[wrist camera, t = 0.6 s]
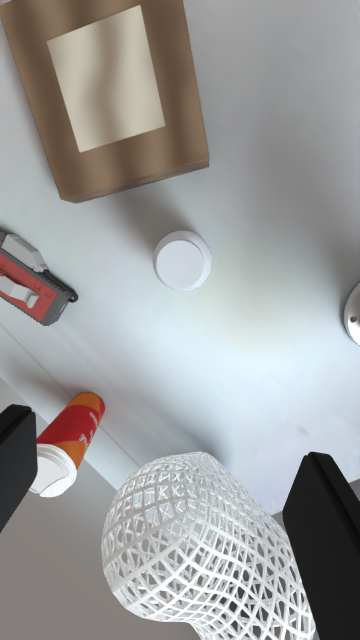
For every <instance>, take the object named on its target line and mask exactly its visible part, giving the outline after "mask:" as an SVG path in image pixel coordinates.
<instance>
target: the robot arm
mask: <svg viewBox="0 0 360 640" xmlns="http://www.w3.org/2000/svg"><path fill="white" fill-rule="evenodd" d="M350 318H351V319H350ZM344 324H345V328H346V330H347V332H348V335H349V336H350V337H351V338H352V340H353V341H354V342H356V343H357V344H358V345H359V346H360V282H359V283H358V285H357V286H356V287H355V288H354V289H353V291H352V292H351V294H350V295H349V298H348V300H347V302H346V305H345V310H344ZM37 472H38V461H37V438H36V416H35V413H34V412H32V410H31V408H30V407H28V406H22V405H15V404H12V405H10V406H8V407H7V408H6V409H5V410H4V411H3V412H2V413H0V533H1V531H2V530H3V528H4V526H5V525H6V523H7V522H8V520H9V519H10V517H11V516H12V514H13V513H14V511H15V510H16V508H17V507H18V505H19V504H20V502H21V501H22V499H23V497H24V496H25V495H26V493H27V491H28V490H29V488H30V487H31V485H32V484H33V482H34V480H35V478H36V476H37ZM283 522H284V525H285V528H286V532H287V535H288V538H289V542H290V545H291V548H292V551H293V554H294V558H295V561H296V564H297V567H298V571H299V574H300V577H301V580H302V583H303V587H304V590H305V593H306V596H307V600H308V603H309V606H310V609H311V612H312V616H313V619H314V622H315V625H316V629H317V632H318V635H319V638H320V640H360V501H359V500H358V498H357V497H356V495H355V493H354V492H353V490H352V489H351V487H350V485H349V484H348V482H347V480H346V479H345V477H344V476H343V474H342V472H341V471H340V469H339V468H338V466H337V464H336V463H335V461H334V460H333V458H332V457H331V456H330V455H329V454H324V453H317V452H310V453H309V454H308V456H307V455H305V456H304V457H303V459H302V462H301V464H300V467H299V470H298V472H297V475H296V477H295V480H294V482H293V485H292V488H291V490H290V493H289V495H288V498H287V501H286V503H285V506H284V508H283Z"/></svg>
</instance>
